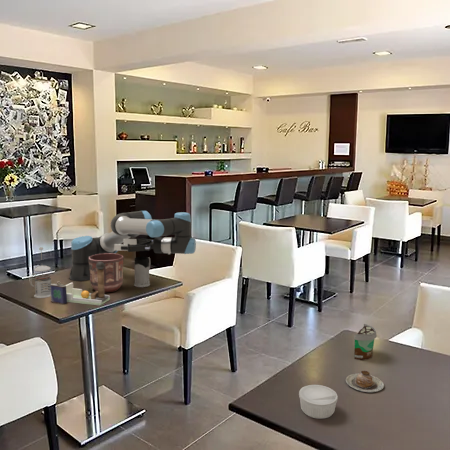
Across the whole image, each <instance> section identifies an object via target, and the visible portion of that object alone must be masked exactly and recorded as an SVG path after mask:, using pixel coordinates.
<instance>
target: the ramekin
mask: <svg viewBox="0 0 450 450" xmlns="http://www.w3.org/2000/svg"><path fill="white" fill-rule="evenodd" d="M299 389H300V390H299V391H298V396H299V402H300V408H301V410H302V412H303V413H304V414H305V415H306V416H307V417H309V418H314V419H320V420H321V419H328V418H330V417H332V415H333V414H334V413H335V410H336V406H337V402H338V394H337V392H336V391H335V390H334V389H333V388H330V387H328V386H325V385H321V384H309V385H305V386H303V387H301V388H299Z"/></svg>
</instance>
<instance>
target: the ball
mask: <svg viewBox="0 0 450 450" xmlns="http://www.w3.org/2000/svg"><path fill="white" fill-rule="evenodd" d="M89 293H90V292H89V291H88V290H82V293H81V297H82V298H85V299H86V298H88V297H89Z"/></svg>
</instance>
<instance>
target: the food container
mask: <svg viewBox="0 0 450 450" xmlns="http://www.w3.org/2000/svg"><path fill="white" fill-rule="evenodd" d="M377 337H378V335H377V331H376V328H375V327H374V326H372V325H370V324H365V323H364V324H363V327H362V328H361V329H359V331H358V333H354V338H353V339H354V353H353V354H354V356H353V357H354V360H357V361H359V360H360V361H366V360H370V359H372V357H373V353H374V344H375V339H376V338H377Z"/></svg>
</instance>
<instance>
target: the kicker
mask: <svg viewBox="0 0 450 450" xmlns="http://www.w3.org/2000/svg"><path fill="white" fill-rule="evenodd" d="M96 268H97V277H98V291H94V292H92V293H91V299H95V300H102V301H104V300H106V299H107V298H108V296H107V295H108V294H106V293H104V269H103V268H104V263H103V262H98V263H97V264H96Z"/></svg>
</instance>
